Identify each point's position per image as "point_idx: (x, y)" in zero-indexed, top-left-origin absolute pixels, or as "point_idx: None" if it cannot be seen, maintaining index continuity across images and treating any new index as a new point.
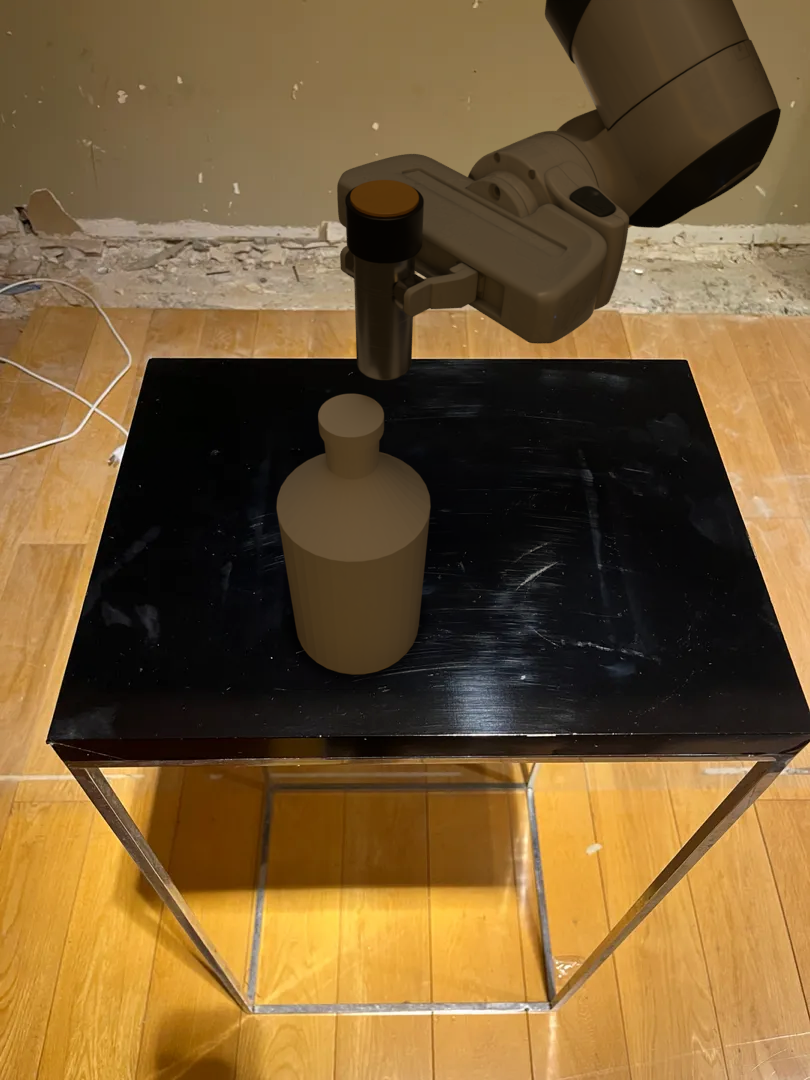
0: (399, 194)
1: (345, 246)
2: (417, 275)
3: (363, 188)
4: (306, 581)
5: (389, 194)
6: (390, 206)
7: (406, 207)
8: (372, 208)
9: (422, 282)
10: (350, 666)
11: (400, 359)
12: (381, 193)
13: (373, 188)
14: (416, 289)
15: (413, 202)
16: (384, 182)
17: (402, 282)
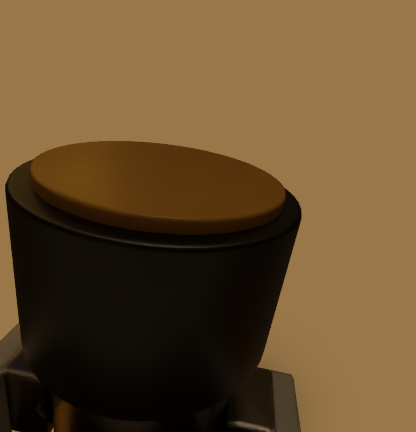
0: (125, 176)
1: (293, 381)
2: (32, 379)
3: (255, 179)
4: None
5: (159, 174)
6: (115, 151)
7: (60, 149)
8: (155, 147)
9: (5, 354)
10: None
11: None
12: (185, 171)
13: (231, 182)
14: (17, 329)
15: (44, 160)
16: (236, 204)
17: None
